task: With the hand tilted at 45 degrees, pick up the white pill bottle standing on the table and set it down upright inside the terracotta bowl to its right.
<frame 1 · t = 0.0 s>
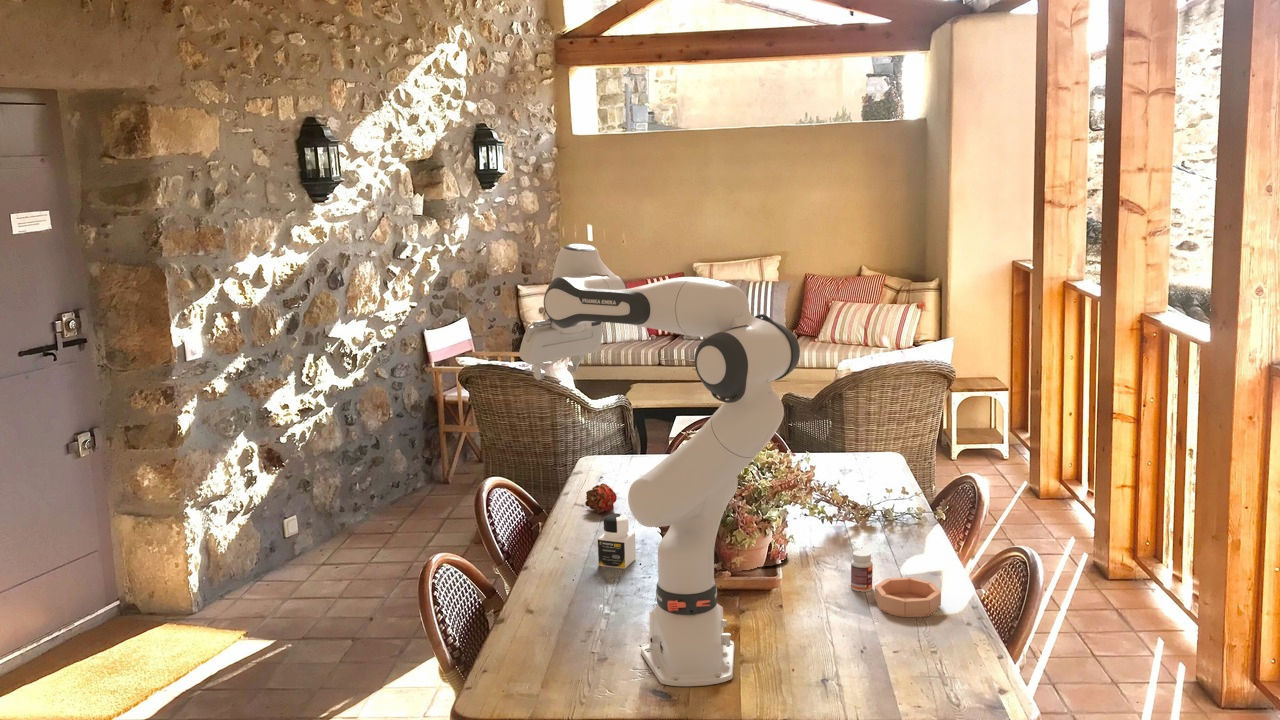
hand: (555, 374, 237), 52 cm above the table, tool tilted 20°, fingers open, 8 cm apart
bowl: (907, 605, 239), on the table
pill bottle: (861, 589, 249), on the table
medicine bottle: (617, 563, 270), on the table
dragon fruit: (601, 511, 310), on the table
salad plate: (751, 558, 271), on the table
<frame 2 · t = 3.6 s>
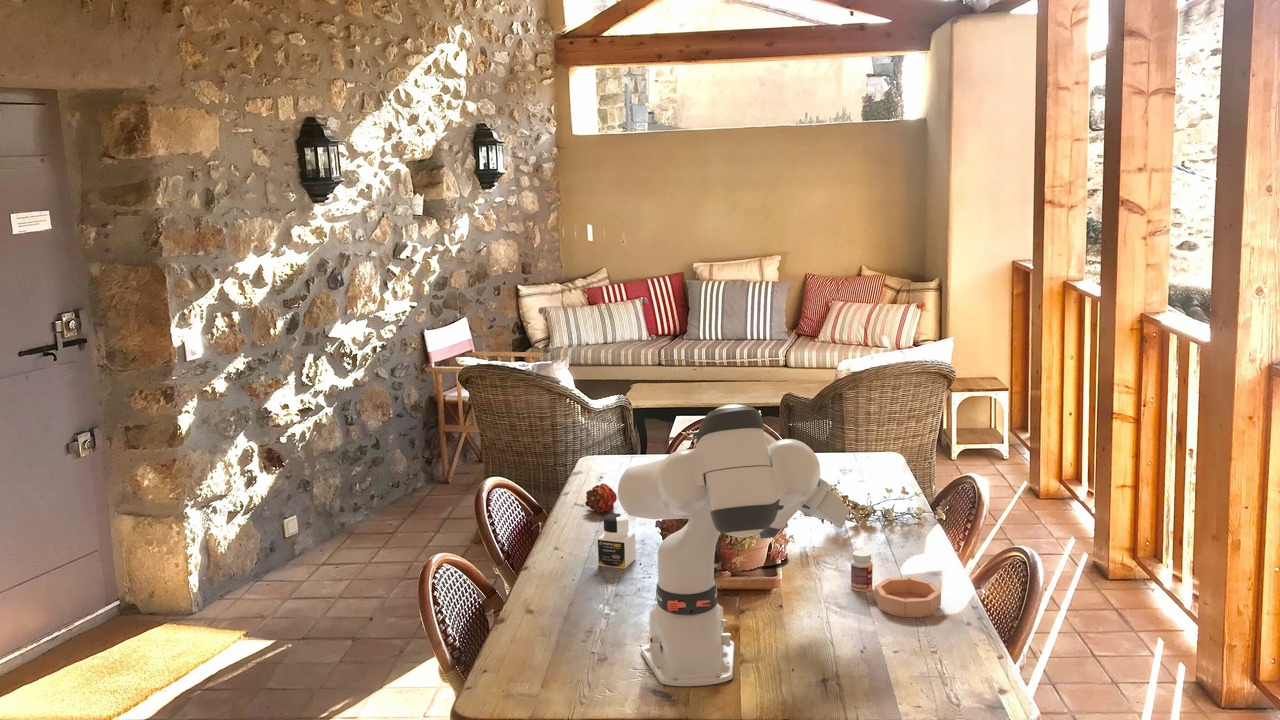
hand: (825, 519, 238), 19 cm above the table, tool tilted 45°, fingers open, 8 cm apart
nothing on the table moved.
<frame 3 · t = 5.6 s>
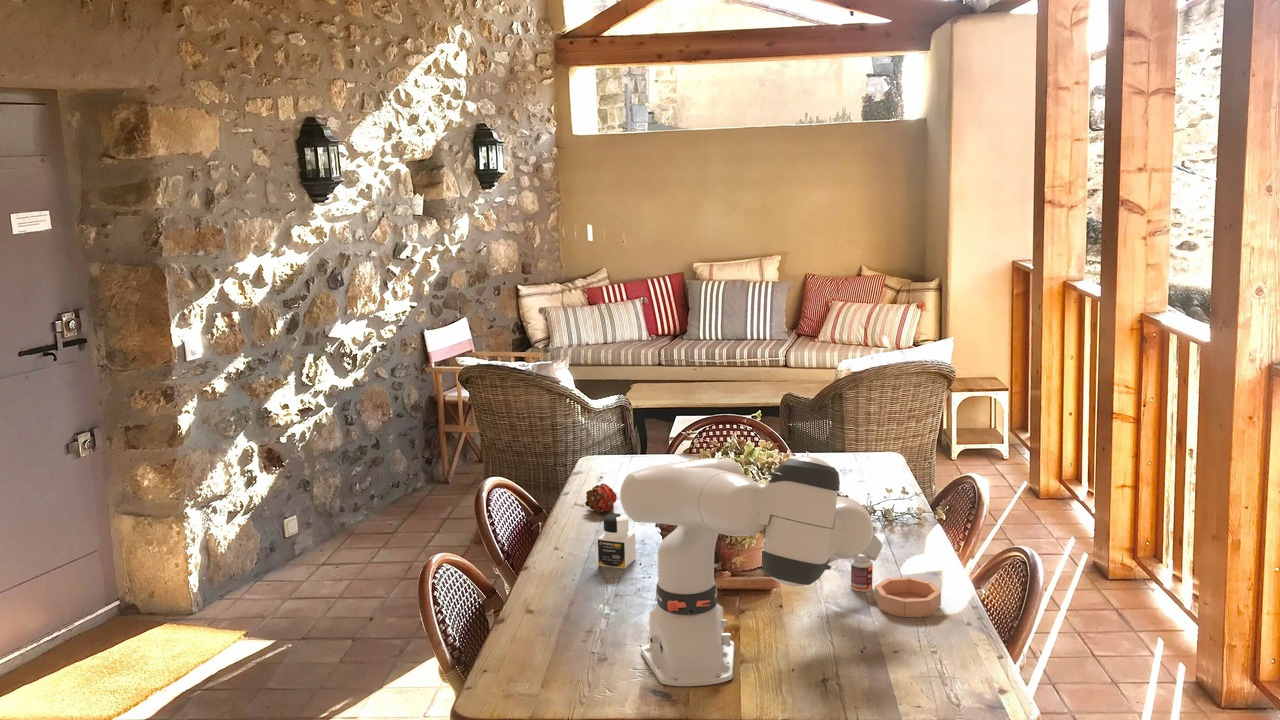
hand: (859, 551, 244), 10 cm above the table, tool tilted 45°, fingers open, 8 cm apart
nothing on the table moved.
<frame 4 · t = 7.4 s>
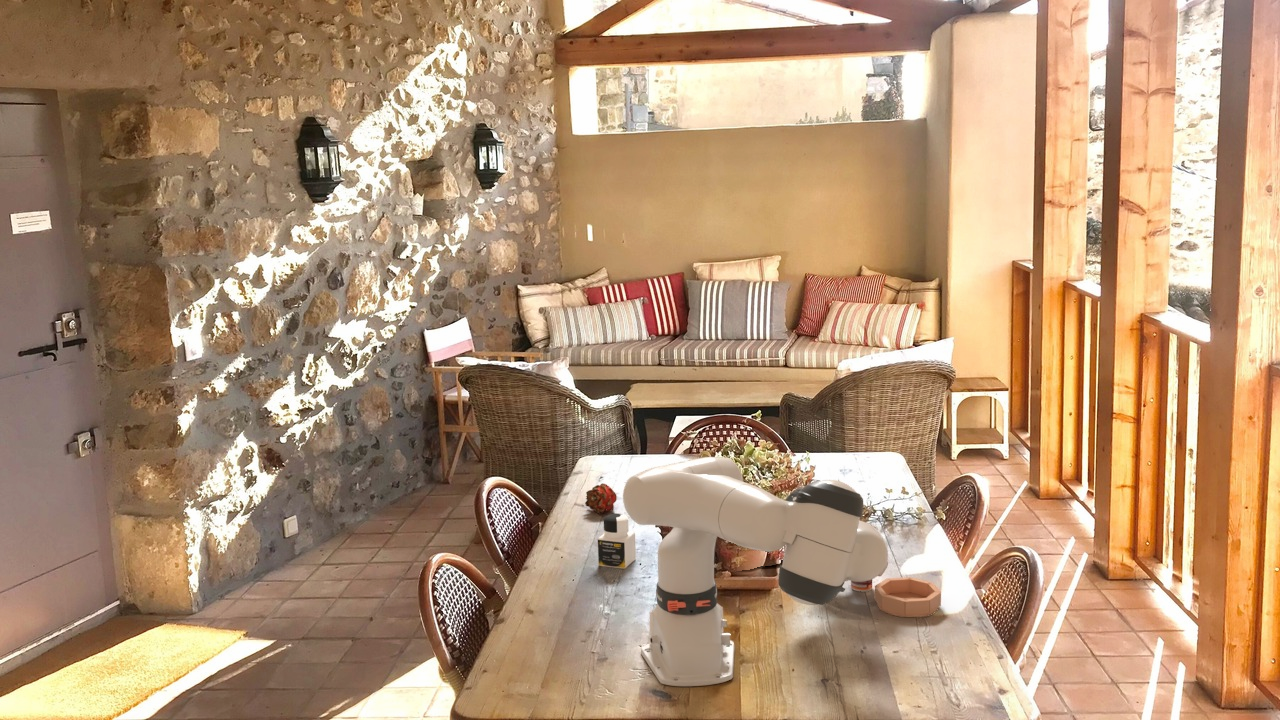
hand: (863, 569, 249), 4 cm above the table, tool tilted 45°, fingers closed on pill bottle, 5 cm apart
pill bottle: (861, 589, 249), on the table, touching gripper
everything else where it was.
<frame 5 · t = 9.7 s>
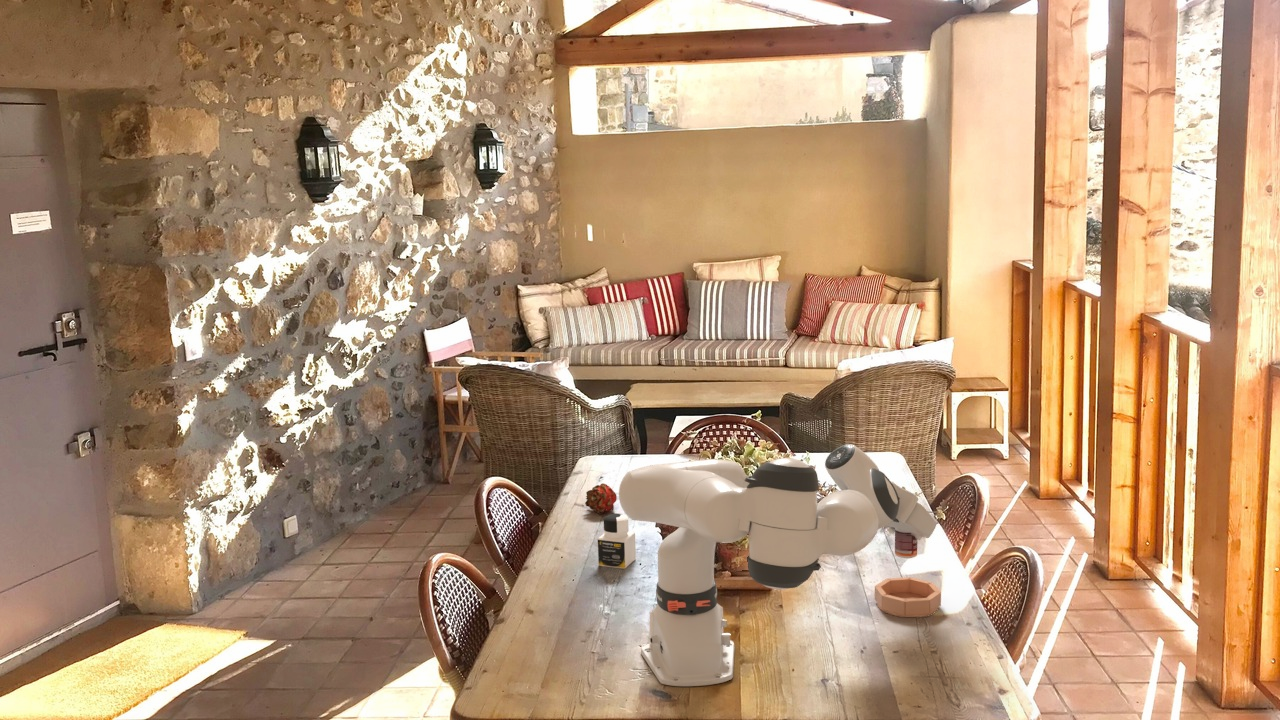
hand: (908, 532, 237), 16 cm above the table, tool tilted 45°, fingers closed on pill bottle, 5 cm apart
pill bottle: (905, 555, 237), point 11 cm above the table, touching gripper
everything else where it was.
when the fingers open (7 cm above the table, at t = 12.0 s): pill bottle stays where it is, resting on bowl.
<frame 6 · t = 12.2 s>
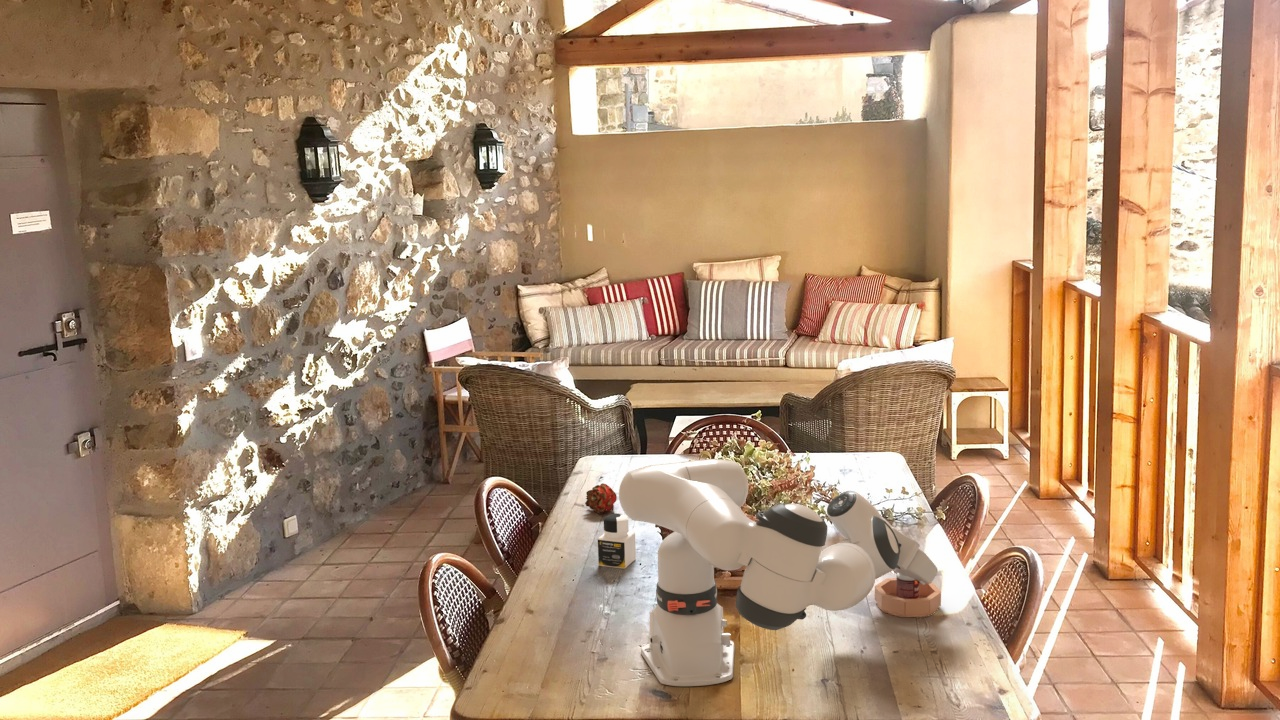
hand: (909, 576, 238), 7 cm above the table, tool tilted 45°, fingers open, 6 cm apart
pill bottle: (907, 602, 239), point 1 cm above the table, touching bowl
everything else where it was.
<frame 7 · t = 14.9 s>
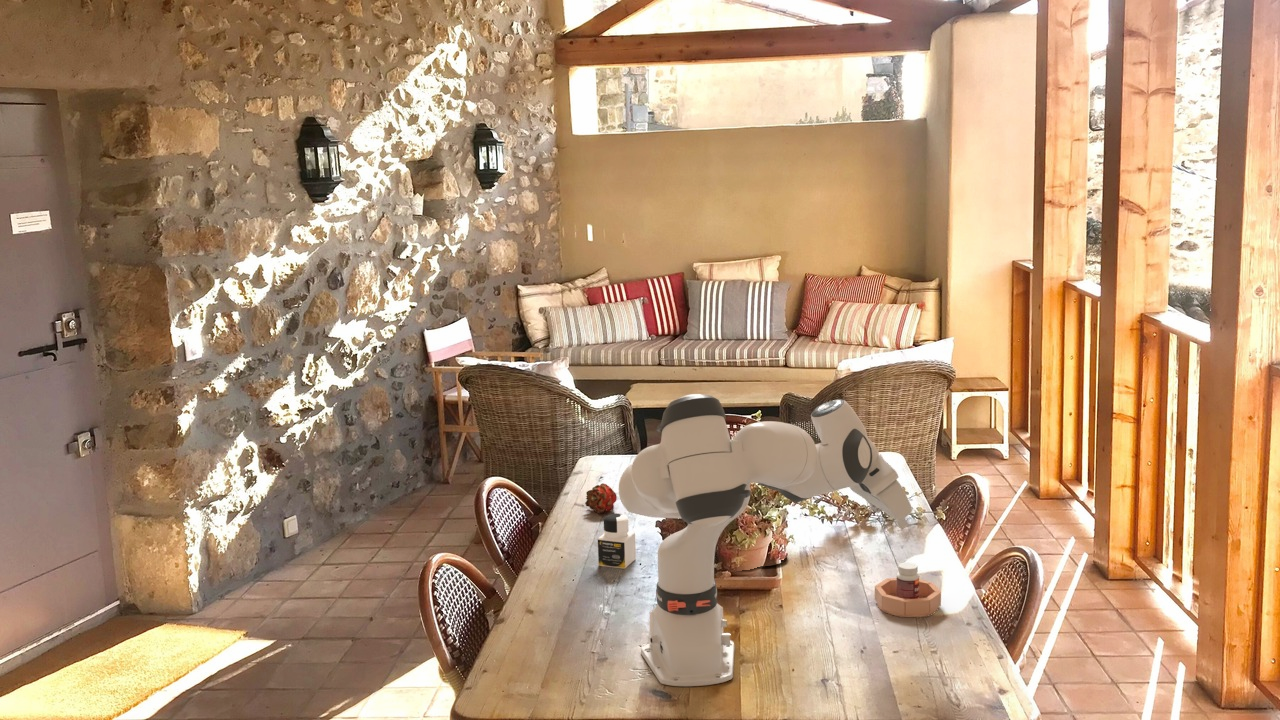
hand: (891, 518, 225), 23 cm above the table, tool tilted 30°, fingers open, 8 cm apart
nothing on the table moved.
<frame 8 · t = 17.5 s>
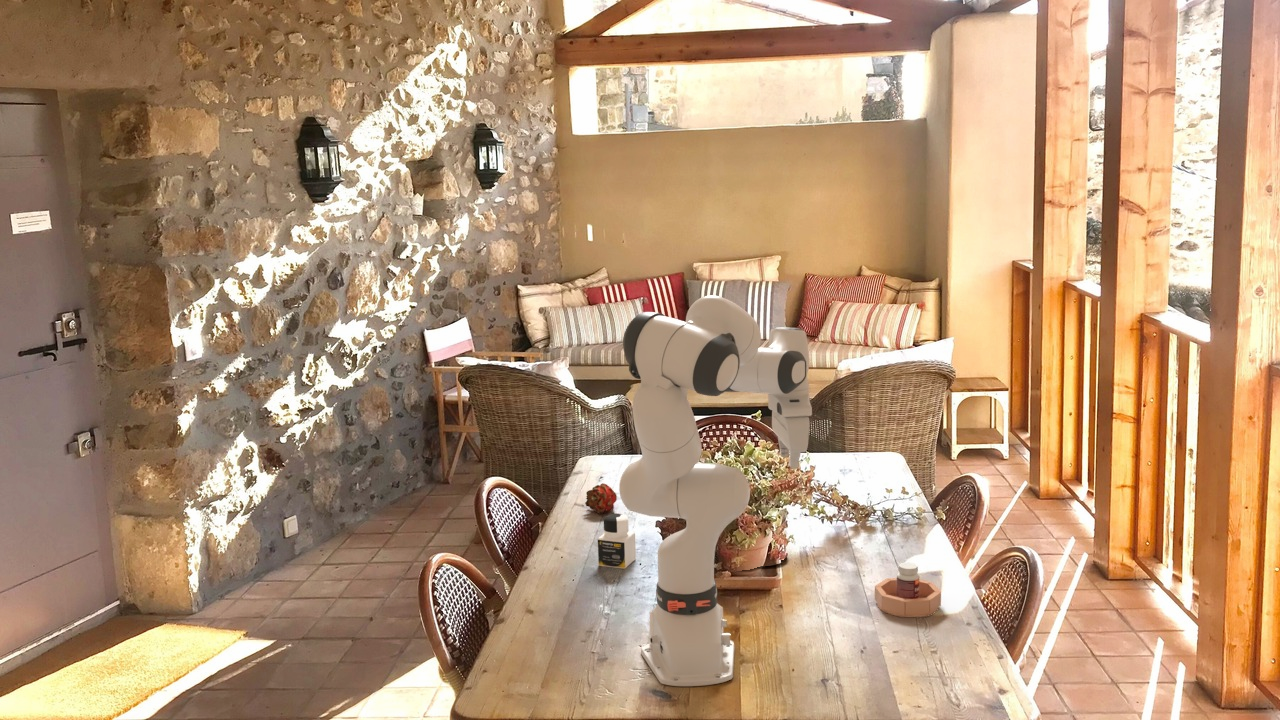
hand: (789, 461, 240), 31 cm above the table, tool pointing down, fingers open, 8 cm apart
nothing on the table moved.
at the end: pill bottle inside the target area on the bowl (0.1 cm from its centre), point 0.6 cm above the bowl's base; pill bottle tilted 0°; the gripper is holding nothing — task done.
